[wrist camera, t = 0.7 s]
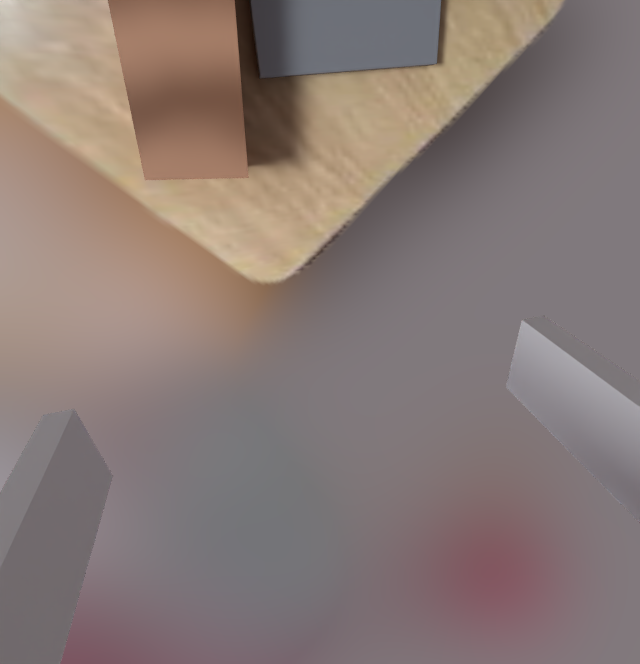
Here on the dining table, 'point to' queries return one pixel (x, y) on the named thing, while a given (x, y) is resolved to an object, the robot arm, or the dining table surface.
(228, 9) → the cherry bar
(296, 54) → the fulcrum
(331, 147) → the dining table surface
